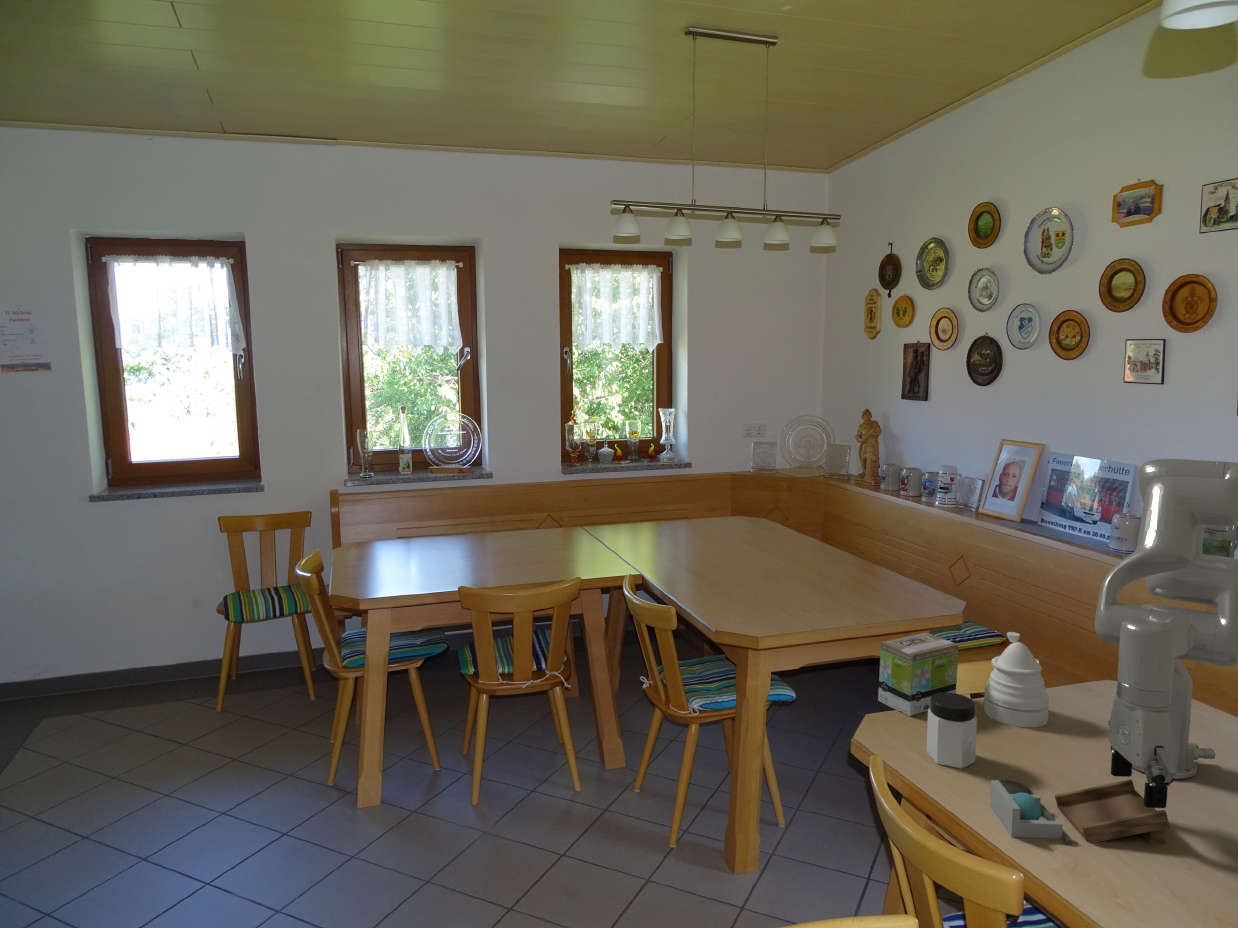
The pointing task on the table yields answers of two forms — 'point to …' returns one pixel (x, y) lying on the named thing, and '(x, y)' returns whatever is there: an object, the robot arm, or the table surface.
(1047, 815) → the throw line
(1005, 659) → the honey pot
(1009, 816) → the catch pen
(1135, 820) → the ramp
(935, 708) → the jar
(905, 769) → the table surface
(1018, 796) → the ball
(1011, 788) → the dark grey disc
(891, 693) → the tea box
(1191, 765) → the robot arm
